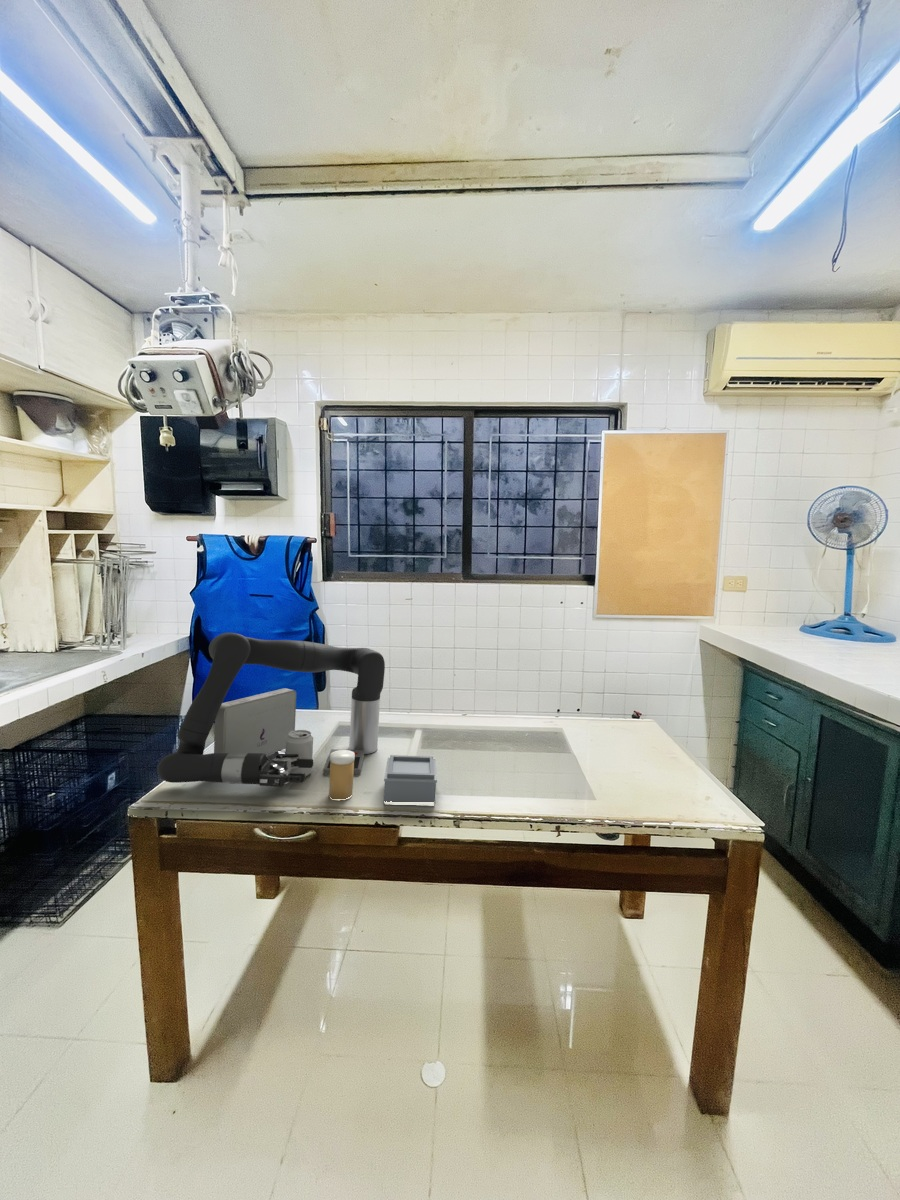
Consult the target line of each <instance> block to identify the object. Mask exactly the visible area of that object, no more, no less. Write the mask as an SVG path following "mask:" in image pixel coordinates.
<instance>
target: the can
mask: <svg viewBox="0 0 900 1200" xmlns="http://www.w3.org/2000/svg"><path fill="white" fill-rule="evenodd" d="M288 735H289V736H288V737H287V738H286V746H285V749H284V750H285V751H284V752H285V754H298V755H299V756H298V757H299V759H313V753H314V752H313V751H314V749H313V748H314V736H312V732H311V731H310V730H306V729H295V731H292V732H290V733H289V734H288ZM312 770H313V767H312V768H298V767H297V768H293V769H291V770H290V771H288V772H289V774H290V772H300V773H305V778H306V777H308V776H309V775H310V774H311V772H312Z"/></svg>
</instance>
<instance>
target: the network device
mask: <svg viewBox="0 0 900 1200" xmlns="http://www.w3.org/2000/svg"><path fill="white" fill-rule="evenodd" d="M296 708H297V691H296V690H294V689H290V688H286V687H285V688H284V687H283V688H279V689H276V690H272V691H271V690H270V691H267V692H264V693H260V694H255V695H251V696H246V697H243V698H238V699H235V700H231V701H226V702H222V704H221V707H220V709H219V711H218V714H217V716H216V719H215V721H214V737H213V738H214V740H213V742H214V744H213V753H229V754H230V753H263V754H266V755H267V757H268V756H270V755H273V754H276V753H275V752H278V751H284V750H285V746H286V738H287V737H288V736H289V735H288V734H289V733H290V732H292V731H295V730H296V717H297V716H296V714H297V712H296V711H297V709H296Z"/></svg>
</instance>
